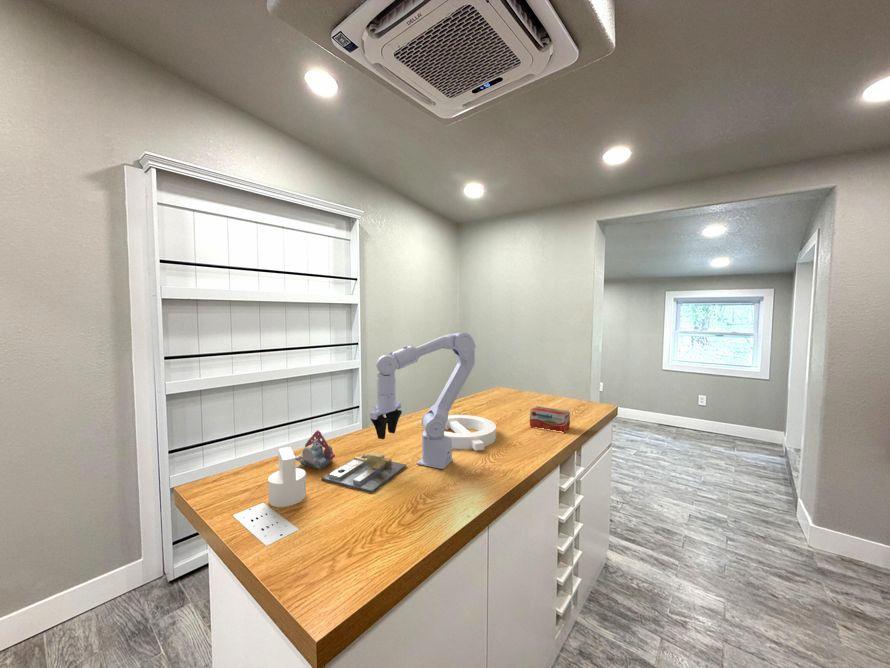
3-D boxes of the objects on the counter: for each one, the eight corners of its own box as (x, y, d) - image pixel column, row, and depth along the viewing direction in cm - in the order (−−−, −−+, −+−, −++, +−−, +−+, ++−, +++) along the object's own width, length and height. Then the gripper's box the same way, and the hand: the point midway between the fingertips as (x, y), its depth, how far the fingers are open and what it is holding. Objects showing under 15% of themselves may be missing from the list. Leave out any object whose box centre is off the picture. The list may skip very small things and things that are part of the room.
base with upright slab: (309, 500, 90) (308, 455, 89) (270, 510, 85) (269, 463, 85) (302, 486, 98) (301, 444, 97) (267, 494, 93) (265, 451, 92)
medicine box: (569, 428, 148) (570, 410, 148) (565, 434, 141) (565, 414, 141) (535, 422, 156) (535, 405, 156) (529, 427, 149) (529, 409, 149)
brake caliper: (346, 452, 116) (329, 430, 109) (327, 483, 108) (307, 462, 101) (321, 446, 121) (303, 425, 114) (301, 475, 113) (281, 455, 106)
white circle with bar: (444, 422, 158) (444, 411, 157) (504, 431, 145) (504, 420, 145) (412, 442, 132) (412, 430, 132) (481, 455, 120) (481, 442, 120)
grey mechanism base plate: (406, 467, 110) (406, 457, 110) (372, 493, 94) (372, 481, 93) (360, 457, 117) (360, 448, 117) (321, 480, 101) (321, 469, 101)
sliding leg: (384, 466, 105) (384, 454, 105) (380, 469, 103) (380, 457, 103) (356, 460, 109) (356, 449, 109) (352, 463, 107) (352, 451, 107)
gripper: (388, 387, 118) (388, 427, 118) (361, 397, 104) (362, 441, 105) (406, 389, 115) (406, 430, 115) (381, 399, 102) (381, 444, 102)
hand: (386, 435), depth 110 cm, fingers open, 5 cm apart
